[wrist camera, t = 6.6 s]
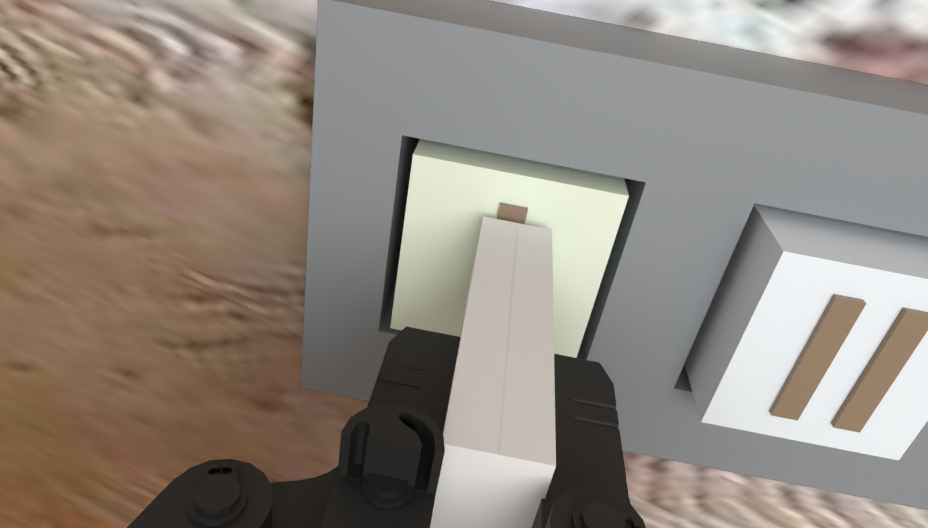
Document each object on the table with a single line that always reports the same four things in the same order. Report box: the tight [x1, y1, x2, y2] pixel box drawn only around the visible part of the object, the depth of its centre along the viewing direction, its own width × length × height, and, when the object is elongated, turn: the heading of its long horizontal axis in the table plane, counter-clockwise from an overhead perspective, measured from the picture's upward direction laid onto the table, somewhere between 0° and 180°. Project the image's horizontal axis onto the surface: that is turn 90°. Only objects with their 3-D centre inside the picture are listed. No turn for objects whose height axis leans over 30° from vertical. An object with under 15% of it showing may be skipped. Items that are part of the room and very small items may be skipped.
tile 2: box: [684, 203, 928, 460], centre depth 15 cm, size 5×5×2 cm
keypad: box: [301, 0, 928, 510], centre depth 17 cm, size 24×10×3 cm, turn 81°
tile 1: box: [390, 139, 629, 358], centre depth 16 cm, size 5×5×2 cm
